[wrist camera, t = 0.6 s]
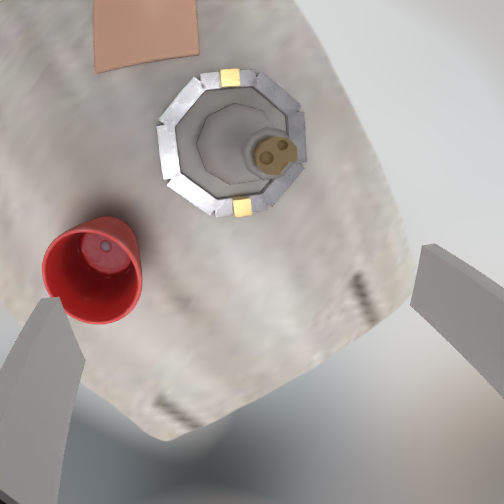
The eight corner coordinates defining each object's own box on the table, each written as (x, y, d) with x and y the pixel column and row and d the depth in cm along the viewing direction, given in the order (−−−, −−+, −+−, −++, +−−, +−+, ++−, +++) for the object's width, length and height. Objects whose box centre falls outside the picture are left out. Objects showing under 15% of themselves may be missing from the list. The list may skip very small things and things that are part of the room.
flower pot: (73, 196, 33) (42, 219, 24) (157, 212, 36) (149, 241, 27) (67, 273, 36) (42, 313, 27) (143, 289, 39) (135, 333, 31)
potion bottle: (284, 140, 36) (364, 155, 20) (234, 193, 37) (277, 250, 21) (232, 90, 32) (276, 58, 16) (179, 146, 34) (174, 163, 17)
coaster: (95, -10, 23) (94, -12, 22) (193, -27, 25) (193, -30, 24) (96, 73, 28) (95, 72, 27) (199, 55, 30) (199, 53, 29)
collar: (152, 81, 30) (150, 78, 28) (297, 70, 33) (303, 67, 31) (171, 221, 37) (170, 227, 35) (305, 202, 39) (312, 207, 37)
